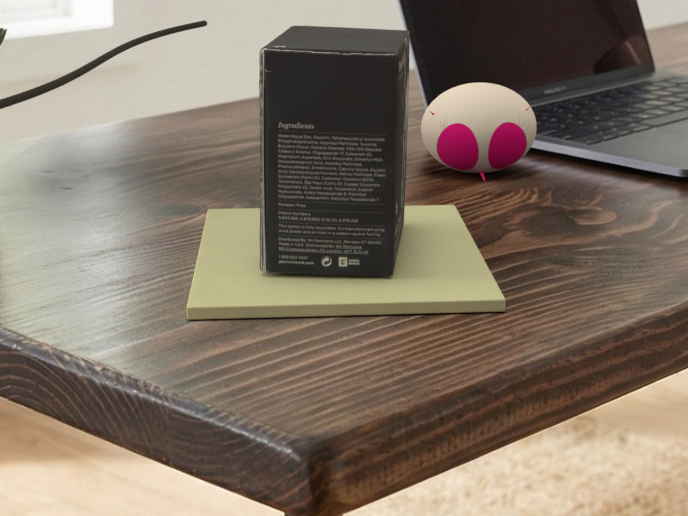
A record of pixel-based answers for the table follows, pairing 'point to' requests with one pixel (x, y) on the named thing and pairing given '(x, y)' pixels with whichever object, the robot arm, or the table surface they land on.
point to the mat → (343, 290)
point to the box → (333, 150)
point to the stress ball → (478, 128)
